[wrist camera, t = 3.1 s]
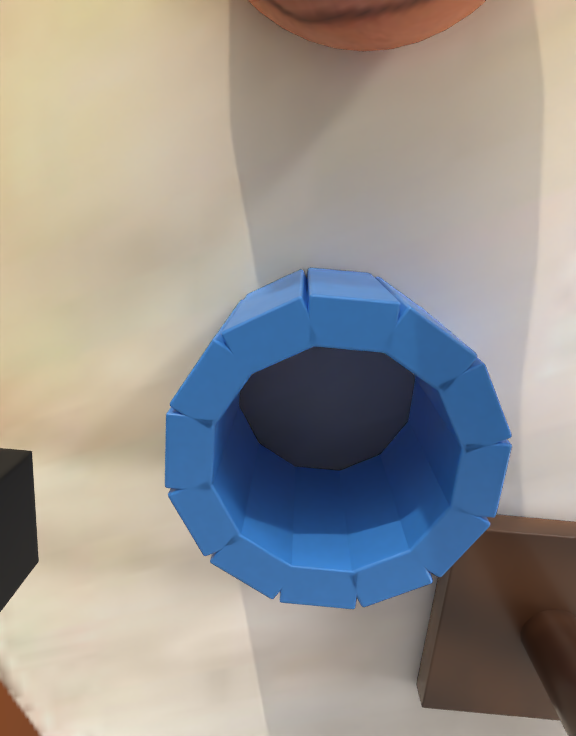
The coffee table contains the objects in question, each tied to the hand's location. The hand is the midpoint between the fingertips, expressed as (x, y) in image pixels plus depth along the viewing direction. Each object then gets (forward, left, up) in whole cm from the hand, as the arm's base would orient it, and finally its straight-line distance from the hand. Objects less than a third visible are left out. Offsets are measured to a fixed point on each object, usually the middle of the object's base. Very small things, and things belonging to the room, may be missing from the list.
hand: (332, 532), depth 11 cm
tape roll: (0, 0, -9) cm, 9 cm away
